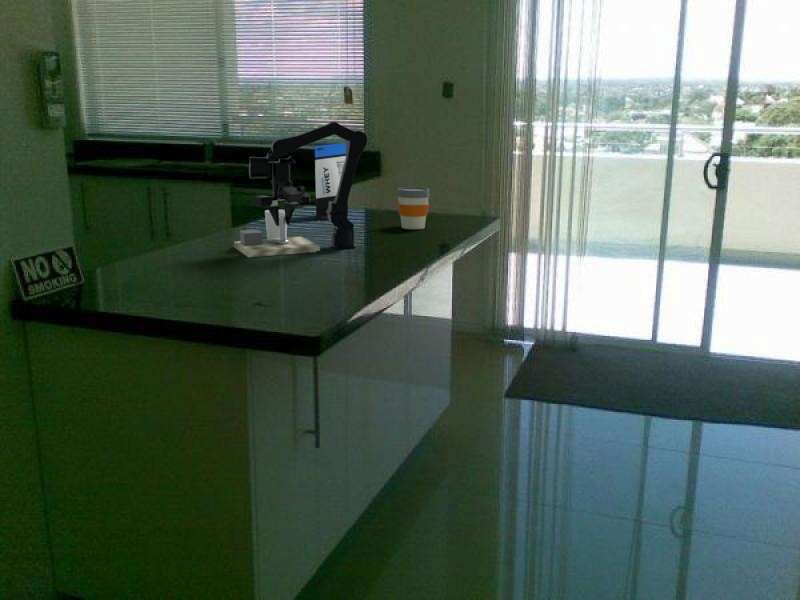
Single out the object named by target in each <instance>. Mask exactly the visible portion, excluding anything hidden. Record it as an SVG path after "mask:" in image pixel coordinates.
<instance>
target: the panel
mask: <svg viewBox="0 0 800 600" xmlns="http://www.w3.org/2000/svg"><path fill="white" fill-rule="evenodd" d="M275 239H280V238H275ZM286 239H287V240H289V243H287V244H278V243H263V244H262V245H248V246H244V245H243V244H242V243H240V240H237V241H235V240H234V241H233V247H234V248H235V250H237V251H239V252H240V253H241V254H242V255H244V256H246V257H247V258H256V257H257V258H258V257H269V256H271V257H272V256H284V255H294V254H308V252H309V253H317V252H316V251H321V249H320V248H321V247H320V245H319V244H317V243H315V242H313V241H311V240H309V239H307V238H306V237H303V236H292V237H286Z"/></svg>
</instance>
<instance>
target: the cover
mask: <svg viewBox="0 0 800 600" xmlns="http://www.w3.org/2000/svg"><path fill="white" fill-rule="evenodd" d="M239 238H240V239H239V241H240V243H242V244H243V245H244V246H248V245H262V244H263V239H264V238H263V232H262V231H261V230H259V229H248V230H245V229H244V230H239Z"/></svg>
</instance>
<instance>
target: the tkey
mask: <svg viewBox="0 0 800 600" xmlns="http://www.w3.org/2000/svg"><path fill="white" fill-rule="evenodd" d="M285 224H286V220H285V216H280V218H279V227H280V239H268V238H266V239H264V238H262V239H263V243H278V244H287V243H289V240H287V239H286V238H287V237H286V238H285Z"/></svg>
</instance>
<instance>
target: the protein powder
mask: <svg viewBox="0 0 800 600" xmlns="http://www.w3.org/2000/svg"><path fill="white" fill-rule="evenodd" d="M345 159H346V142H342V143H341V142H340V143H332V144H326V145H323V144H322V145H315V146H314V165H315V167H314V172H315V173H314V174H315V221H316V222H319V221H318V220H321V221H329V219H328V217H327V214H328V213H327V212H326V211H327V209H328V205H329V201H332V202H333V201H334V199H335V197H336V195H337V191H338V187H339V183H340V179H341V175H342V171H343V167H344V163H345Z"/></svg>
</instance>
